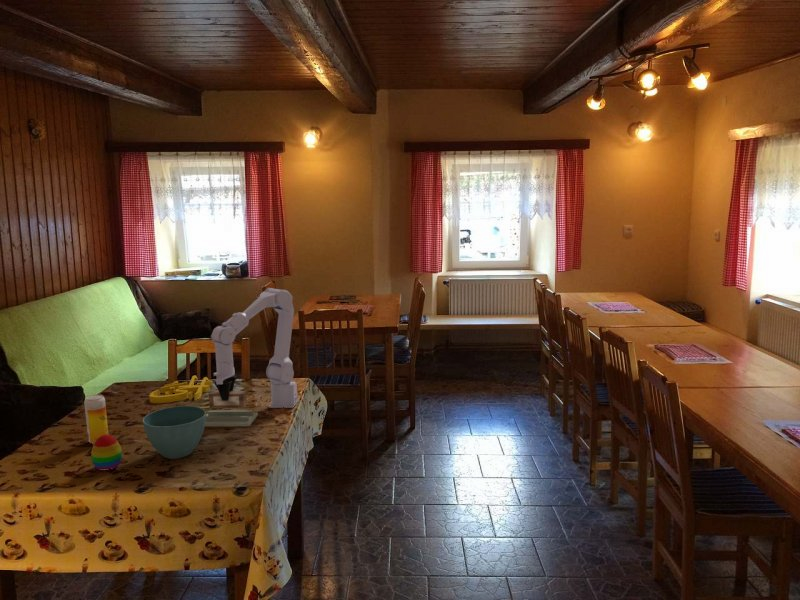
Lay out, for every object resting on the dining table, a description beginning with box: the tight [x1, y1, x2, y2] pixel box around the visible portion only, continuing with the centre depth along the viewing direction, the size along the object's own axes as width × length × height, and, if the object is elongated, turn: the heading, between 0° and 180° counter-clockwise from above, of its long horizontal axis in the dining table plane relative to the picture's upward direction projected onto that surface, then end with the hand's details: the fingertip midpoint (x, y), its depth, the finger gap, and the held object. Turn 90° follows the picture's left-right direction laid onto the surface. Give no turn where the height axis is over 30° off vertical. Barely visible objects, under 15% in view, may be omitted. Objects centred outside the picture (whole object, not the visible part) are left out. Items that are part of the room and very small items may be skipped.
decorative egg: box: [90, 434, 123, 470], centre depth 190 cm, size 8×8×10 cm
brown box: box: [208, 390, 247, 409], centre depth 227 cm, size 12×4×5 cm, turn 88°
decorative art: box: [148, 374, 214, 404], centre depth 264 cm, size 21×3×30 cm
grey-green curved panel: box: [205, 409, 259, 427], centre depth 228 cm, size 18×11×2 cm, turn 88°
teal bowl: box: [142, 405, 207, 460], centre depth 199 cm, size 18×18×12 cm
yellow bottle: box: [83, 394, 109, 445], centre depth 210 cm, size 6×6×15 cm
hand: (227, 398), depth 227 cm, fingers closed on brown box, 4 cm apart
